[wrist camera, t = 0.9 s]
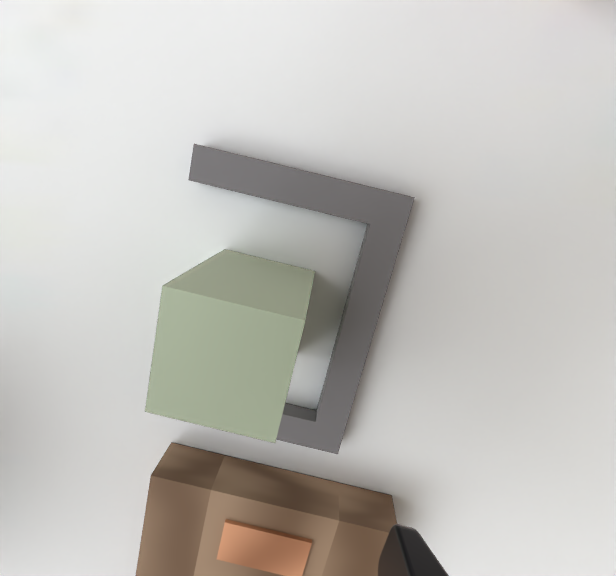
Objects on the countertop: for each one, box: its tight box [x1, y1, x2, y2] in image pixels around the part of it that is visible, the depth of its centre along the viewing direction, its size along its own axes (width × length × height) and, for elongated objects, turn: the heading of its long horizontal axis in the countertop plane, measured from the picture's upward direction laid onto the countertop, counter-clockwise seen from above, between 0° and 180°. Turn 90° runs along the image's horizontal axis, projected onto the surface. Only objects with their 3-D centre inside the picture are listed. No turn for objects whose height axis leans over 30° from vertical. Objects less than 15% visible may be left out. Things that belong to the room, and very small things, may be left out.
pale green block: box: [145, 249, 315, 443], centre depth 16 cm, size 4×4×7 cm
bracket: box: [189, 144, 415, 454], centre depth 18 cm, size 10×13×1 cm
